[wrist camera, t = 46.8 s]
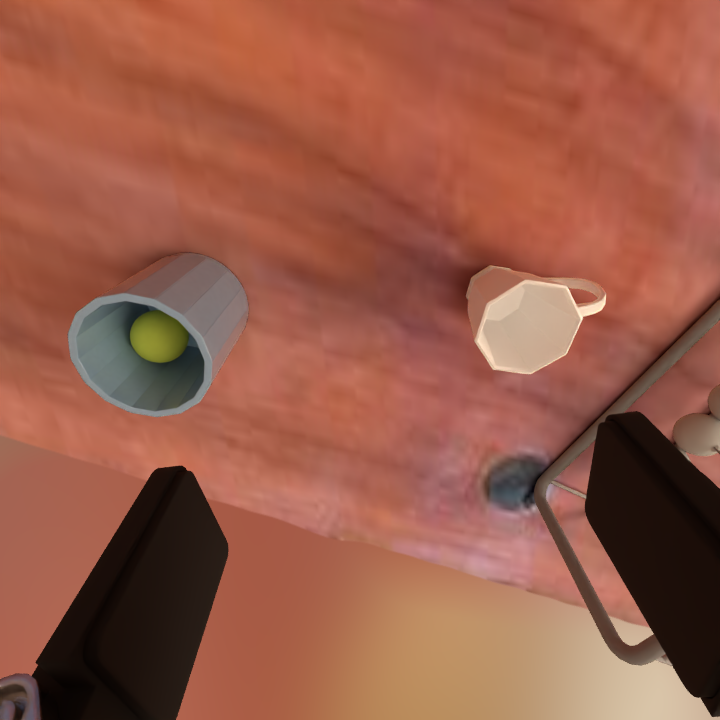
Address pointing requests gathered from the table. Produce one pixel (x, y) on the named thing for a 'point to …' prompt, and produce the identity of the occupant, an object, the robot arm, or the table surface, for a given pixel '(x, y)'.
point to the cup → (526, 316)
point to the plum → (158, 337)
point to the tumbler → (177, 299)
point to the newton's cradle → (690, 436)
